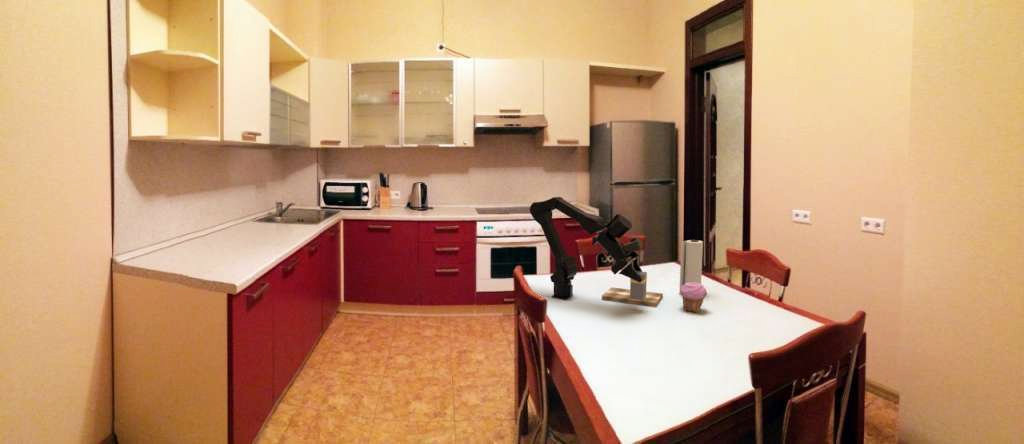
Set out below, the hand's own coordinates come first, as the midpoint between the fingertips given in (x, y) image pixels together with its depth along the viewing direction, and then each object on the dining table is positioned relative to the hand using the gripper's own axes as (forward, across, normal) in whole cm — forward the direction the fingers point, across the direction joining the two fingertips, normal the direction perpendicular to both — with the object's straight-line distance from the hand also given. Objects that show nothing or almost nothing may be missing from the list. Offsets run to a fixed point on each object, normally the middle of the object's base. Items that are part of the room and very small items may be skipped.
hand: (642, 279), depth 158 cm
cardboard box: (+3, +13, +12) cm, 18 cm away
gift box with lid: (+4, 0, +6) cm, 7 cm away
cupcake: (+19, +9, -3) cm, 21 cm away
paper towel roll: (+17, +28, -1) cm, 33 cm away
